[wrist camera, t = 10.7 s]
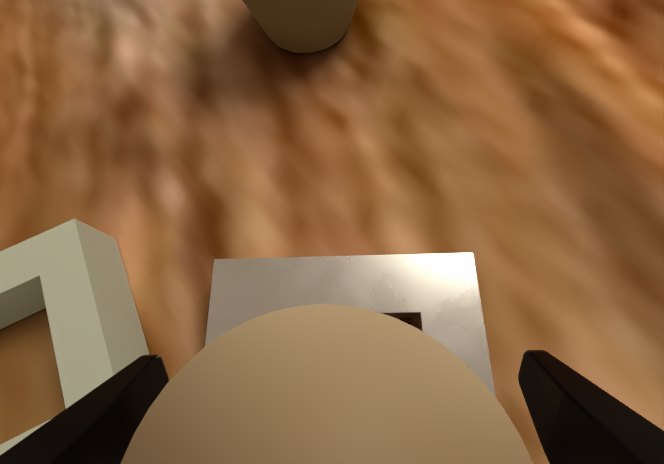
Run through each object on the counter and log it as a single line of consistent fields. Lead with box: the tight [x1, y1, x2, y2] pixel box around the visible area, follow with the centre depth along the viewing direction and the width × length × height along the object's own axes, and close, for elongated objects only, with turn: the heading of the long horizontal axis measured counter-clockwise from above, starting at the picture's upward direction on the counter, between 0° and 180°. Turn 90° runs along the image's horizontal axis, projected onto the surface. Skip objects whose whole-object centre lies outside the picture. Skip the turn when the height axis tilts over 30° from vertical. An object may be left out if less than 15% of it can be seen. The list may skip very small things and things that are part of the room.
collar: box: [0, 219, 150, 455], centre depth 15 cm, size 10×10×3 cm
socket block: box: [205, 253, 496, 398], centre depth 14 cm, size 12×12×2 cm
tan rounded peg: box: [121, 304, 533, 464], centre depth 9 cm, size 4×4×13 cm
